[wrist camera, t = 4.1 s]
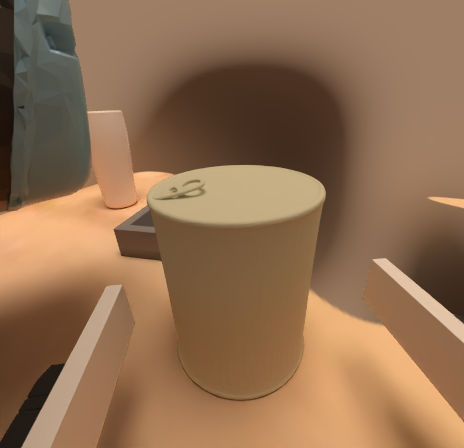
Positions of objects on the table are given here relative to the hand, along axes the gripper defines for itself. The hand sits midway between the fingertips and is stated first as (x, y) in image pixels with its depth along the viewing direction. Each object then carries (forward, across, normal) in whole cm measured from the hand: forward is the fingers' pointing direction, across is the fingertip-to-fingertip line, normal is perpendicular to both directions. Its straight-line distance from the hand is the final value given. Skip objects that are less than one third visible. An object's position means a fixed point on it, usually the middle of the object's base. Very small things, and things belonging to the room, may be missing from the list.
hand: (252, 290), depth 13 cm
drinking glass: (+32, -18, -7) cm, 37 cm away
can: (+3, 0, -7) cm, 7 cm away
